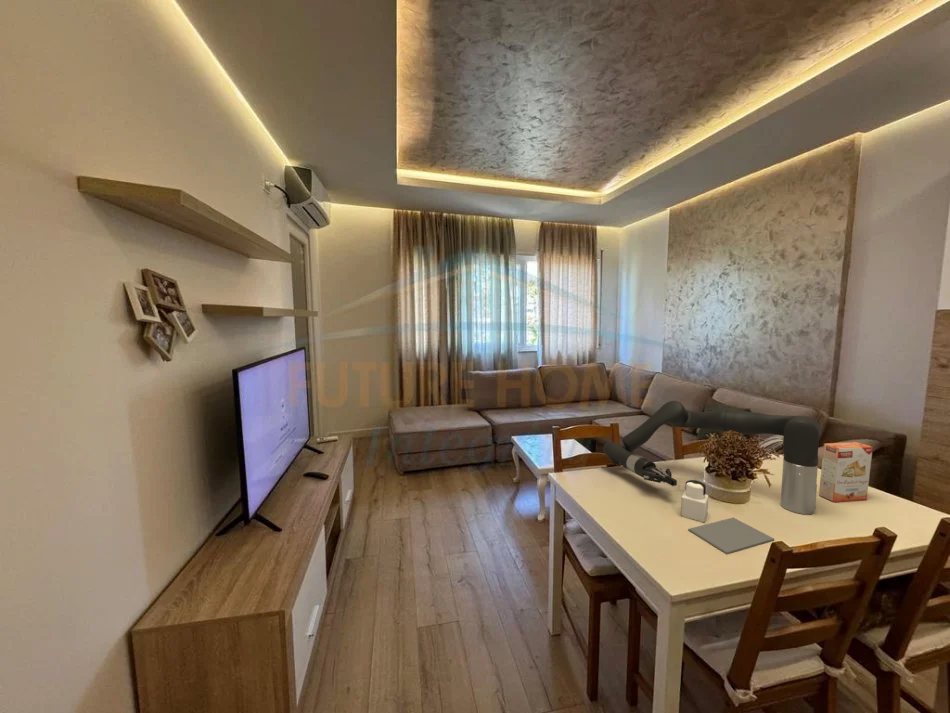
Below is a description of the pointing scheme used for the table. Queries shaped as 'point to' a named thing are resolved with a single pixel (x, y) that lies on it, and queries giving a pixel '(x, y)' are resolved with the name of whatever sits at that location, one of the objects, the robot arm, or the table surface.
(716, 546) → the placemat
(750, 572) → the table surface
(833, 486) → the cracker box
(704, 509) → the medicine bottle
